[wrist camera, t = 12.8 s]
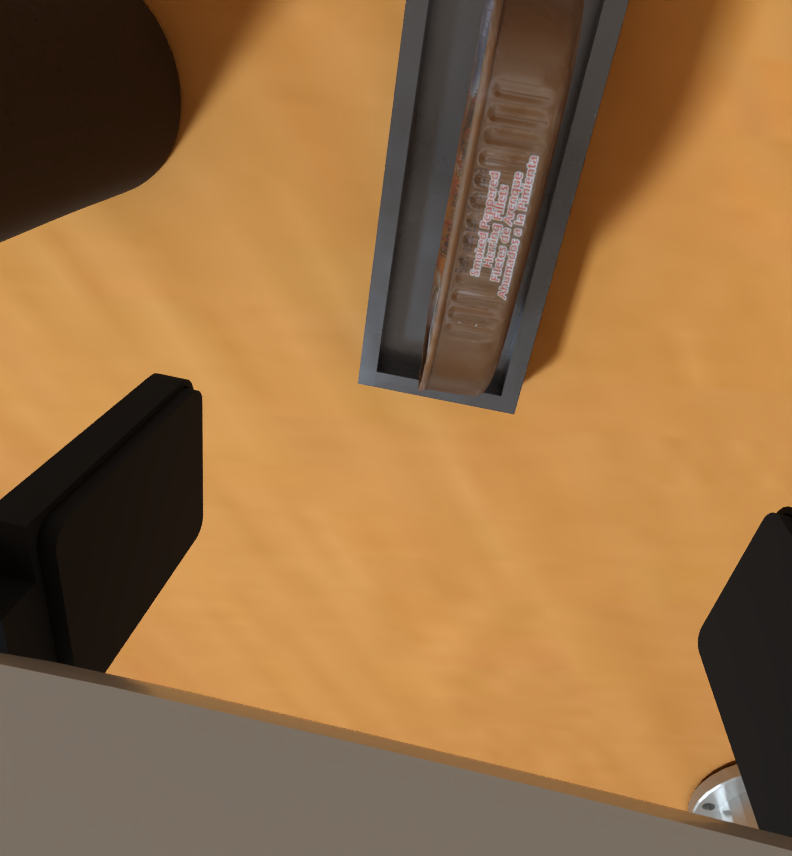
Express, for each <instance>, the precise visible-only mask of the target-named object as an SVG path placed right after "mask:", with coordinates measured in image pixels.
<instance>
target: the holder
mask: <svg viewBox="0 0 792 856" xmlns="http://www.w3.org/2000/svg"><path fill="white" fill-rule="evenodd" d="M485 2H486V0H406V5H405V13H404V21H403V29H402V37H401V45H400V53H399V61H398V69H397V77H396V85H395V93H394V101H393V109H392V117H391V125H390V133H389V141H388V149H387V157H386V165H385V173H384V181H383V189H382V197H381V205H380V213H379V221H378V229H377V237H376V245H375V253H374V261H373V268H372V276H371V284H370V292H369V300H368V308H367V316H366V324H365V332H364V340H363V348H362V356H361V364H360V372H359V380H358V384H363V385H368V386H373V387H379V388H384V389H389V390H394V391H399V392H404V393H409V394H414V395H419V396H424V397H429V398H434V399H439V400H444V401H449V402H455V403H460V404H465V405H470V406H475V407H480V408H485V409H490V410H495V411H500V412H505V413H510V414H514V413H515V409H516V406H517V402H518V398H519V395H520V391H521V387H522V384H523V380H524V377H525V373H526V369H527V366H528V362H529V359H530V355H531V351H532V348H533V344H534V341H535V337H536V333H537V330H538V326H539V323H540V319H541V315H542V312H543V308H544V305H545V301H546V297H547V294H548V290H549V287H550V283H551V279H552V276H553V272H554V268H555V265H556V261H557V258H558V254H559V250H560V247H561V243H562V240H563V236H564V232H565V229H566V225H567V222H568V218H569V214H570V211H571V207H572V204H573V200H574V196H575V193H576V189H577V186H578V182H579V178H580V175H581V171H582V168H583V164H584V160H585V157H586V153H587V149H588V146H589V142H590V139H591V135H592V131H593V128H594V124H595V121H596V117H597V113H598V110H599V106H600V103H601V99H602V95H603V92H604V88H605V85H606V81H607V77H608V74H609V70H610V67H611V63H612V59H613V56H614V52H615V49H616V45H617V41H618V38H619V34H620V30H621V27H622V23H623V20H624V16H625V12H626V9H627V5H628V2H629V0H585V2H584V10H583V18H582V26H581V33H580V39H579V44H578V49H577V55H576V60H575V65H574V70H573V74H572V79H571V84H570V88H569V93H568V98H567V102H566V106H565V110H564V114H563V118H562V122H561V126H560V130H559V134H558V138H557V142H556V147H555V151H554V155H553V159H552V163H551V167H550V171H549V174H548V179H547V183H546V187H545V191H544V196H543V199H542V203H541V207H540V211H539V215H538V219H537V223H536V227H535V230H534V234H533V238H532V242H531V246H530V250H529V254H528V258H527V262H526V265H525V268H524V273H523V277H522V281H521V284H520V288H519V291H518V295H517V299H516V303H515V307H514V310H513V314H512V318H511V322H510V326H509V329H508V333H507V336H506V340H505V343H504V347H503V350H502V353H501V356H500V359H499V362H498V365H497V368H496V371H495V373H494V376H493V378H492V380H491V382H490V384H489V386H488V387H487V389H486V390H485V391H484V392H483V393H482V394H480V395H478V396H468V395H459V394H453V393H447V392H441V391H435V390H423V391H419V390H418V382H419V374H420V367H421V361H422V352H423V344H424V336H425V330H426V322H427V316H428V310H429V303H430V297H431V292H432V287H433V281H434V274H435V268H436V262H437V257H438V251H439V246H440V240H441V234H442V229H443V224H444V218H445V213H446V208H447V203H448V197H449V192H450V186H451V181H452V176H453V170H454V165H455V160H456V154H457V149H458V143H459V138H460V132H461V126H462V121H463V116H464V111H465V105H466V100H467V95H468V89H469V84H470V79H471V74H472V69H473V65H474V58H475V52H476V46H477V41H478V36H479V30H480V25H481V20H482V15H483V10H484V6H485Z"/></svg>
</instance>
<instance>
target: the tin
mask: <svg viewBox="0 0 792 856" xmlns="http://www.w3.org/2000/svg"><path fill="white" fill-rule="evenodd" d="M584 2H585V0H486V2H485V6H484V10H483V15H482V20H481V25H480V30H479V36H478V41H477V46H476V52H475V58H474V65H473V69H472V74H471V79H470V84H469V89H468V95H467V100H466V105H465V111H464V116H463V121H462V126H461V132H460V138H459V143H458V149H457V154H456V160H455V165H454V170H453V176H452V181H451V186H450V192H449V197H448V203H447V208H446V213H445V218H444V224H443V229H442V234H441V240H440V246H439V251H438V257H437V262H436V268H435V274H434V281H433V287H432V292H431V297H430V303H429V310H428V316H427V322H426V330H425V336H424V344H423V352H422V361H421V367H420V374H419V382H418V390H419V391H423V390H435V391H441V392H447V393H453V394H459V395H468V396H478V395H480V394H482V393H483V392H484V391H485V390H486V389H487V387H488V386H489V384H490V382H491V380H492V378H493V376H494V373H495V371H496V368H497V365H498V362H499V359H500V356H501V353H502V350H503V347H504V343H505V340H506V336H507V333H508V329H509V326H510V322H511V318H512V314H513V310H514V307H515V303H516V299H517V295H518V291H519V288H520V284H521V281H522V277H523V273H524V268H525V265H526V262H527V258H528V254H529V250H530V246H531V242H532V238H533V234H534V230H535V227H536V223H537V219H538V215H539V211H540V207H541V203H542V199H543V196H544V191H545V187H546V183H547V179H548V174H549V171H550V167H551V163H552V159H553V155H554V151H555V147H556V142H557V138H558V134H559V130H560V126H561V122H562V118H563V114H564V110H565V106H566V102H567V98H568V93H569V88H570V84H571V79H572V74H573V70H574V65H575V60H576V55H577V49H578V44H579V39H580V33H581V26H582V18H583V10H584Z"/></svg>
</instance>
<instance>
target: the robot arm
mask: <svg viewBox="0 0 792 856" xmlns="http://www.w3.org/2000/svg"><path fill="white" fill-rule="evenodd" d="M202 521H203V435H202V395H201V393H200V391H197V390H193V386H192V383H191V382H190V381H189V380H187V379H182V378H177V377H172V376H168V375H163V374H158V373H154V374H153V375H151V376H150V377H148V378H147V379H146V380H145V381H144V382H142V383H141V384H140V385H139V386H137V387H136V388H135V389H134V390H133V391H131V392H130V393H129V394H128V395H127V396H125V397H124V398H123V399H122V400H120V401H119V402H118V403H117V404H116V405H114V406H113V407H112V408H111V409H110V410H108V411H107V412H106V413H105V414H104V415H102V416H101V417H100V418H99V419H97V420H96V421H95V422H94V423H93V424H91V425H90V426H89V427H88V428H87V429H85V430H84V431H83V432H82V433H81V434H79V435H78V436H77V437H76V438H74V439H73V440H72V441H71V442H70V443H68V444H67V445H66V446H65V447H64V448H62V449H61V450H60V451H59V452H58V453H56V454H55V455H54V456H53V457H51V458H50V459H49V460H48V461H47V462H45V463H44V464H43V465H42V466H41V467H39V468H38V469H37V470H36V471H35V472H33V473H32V474H31V475H30V476H28V477H27V478H26V479H25V480H24V481H22V482H21V483H20V484H19V485H18V486H16V487H15V488H14V489H13V490H11V491H10V492H9V493H8V494H7V495H5V496H4V497H3V498H2V499H1V500H0V856H792V507H783V508H782V509H780V510H779V511H778V512H777V513H769V514H768V515H767V516H766V517H765V518H764V519H763V521H762V523H761V524H760V526H759V528H758V530H757V531H756V533H755V535H754V537H753V538H752V540H751V542H750V544H749V545H748V547H747V549H746V551H745V552H744V554H743V556H742V558H741V559H740V561H739V563H738V565H737V566H736V568H735V570H734V572H733V573H732V575H731V577H730V578H729V580H728V582H727V584H726V585H725V587H724V589H723V591H722V592H721V594H720V596H719V598H718V599H717V601H716V603H715V605H714V606H713V608H712V610H711V612H710V613H709V615H708V617H707V619H706V620H705V622H704V624H703V626H702V628H701V630H700V633H699V637H698V649H699V653H700V656H701V659H702V662H703V665H704V668H705V671H706V674H707V677H708V680H709V683H710V686H711V689H712V692H713V695H714V698H715V701H716V703H717V706H718V709H719V712H720V715H721V718H722V721H723V724H724V727H725V730H726V733H727V736H728V739H729V742H730V745H731V748H732V751H733V754H734V757H735V760H736V763H737V764H735V765H732V766H730V767H727V768H724V769H722V770H720V771H718V772H717V773H715V774H713V775H711V776H710V777H708V778H707V779H706V780H705V781H703V782H702V783H701V784H700V785H699V786H698V787H697V789H696V790H695V791H694V792H693V794H692V796H691V798H690V801H689V803H688V812H687V811H683V810H679V809H675V808H671V807H667V806H663V805H659V804H655V803H651V802H647V801H643V800H638V799H634V798H630V797H626V796H622V795H618V794H614V793H610V792H606V791H602V790H598V789H594V788H590V787H586V786H582V785H577V784H573V783H569V782H565V781H561V780H557V779H553V778H549V777H544V776H540V775H536V774H532V773H528V772H524V771H520V770H516V769H511V768H507V767H503V766H499V765H495V764H491V763H487V762H483V761H478V760H474V759H470V758H466V757H462V756H458V755H453V754H449V753H445V752H441V751H437V750H433V749H429V748H424V747H420V746H416V745H412V744H408V743H404V742H399V741H395V740H391V739H387V738H383V737H379V736H374V735H370V734H366V733H362V732H358V731H354V730H349V729H345V728H341V727H337V726H332V725H328V724H324V723H320V722H315V721H311V720H307V719H303V718H298V717H294V716H290V715H286V714H281V713H277V712H273V711H269V710H264V709H260V708H256V707H252V706H247V705H243V704H239V703H235V702H230V701H226V700H222V699H218V698H214V697H209V696H205V695H201V694H197V693H192V692H188V691H184V690H180V689H175V688H171V687H166V686H162V685H157V684H153V683H148V682H143V681H139V680H134V679H130V678H125V677H120V676H116V675H111V674H107V673H105V672H106V671H107V669H108V668H109V666H110V665H111V663H112V662H113V660H114V659H115V657H116V656H117V654H118V653H119V651H120V650H121V648H122V647H123V646H124V644H125V643H126V641H127V640H128V638H129V637H130V635H131V634H132V632H133V631H134V629H135V628H136V626H137V625H138V623H139V622H140V620H141V619H142V618H143V616H144V615H145V613H146V612H147V610H148V609H149V607H150V606H151V604H152V603H153V601H154V600H155V598H156V597H157V595H158V594H159V593H160V591H161V590H162V588H163V587H164V585H165V584H166V582H167V581H168V579H169V578H170V576H171V575H172V573H173V572H174V570H175V569H176V567H177V566H178V565H179V563H180V562H181V560H182V559H183V557H184V556H185V554H186V553H187V551H188V550H189V548H190V547H191V545H192V544H193V542H194V541H195V540H196V538H197V536H198V534H199V532H200V529H201V526H202Z"/></svg>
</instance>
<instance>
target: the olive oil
mask: <svg viewBox="0 0 792 856" xmlns="http://www.w3.org/2000/svg"><path fill="white" fill-rule="evenodd" d="M179 119H180V87H179V80H178V75H177V70H176V66H175V62H174V59H173V56H172V53H171V50H170V47H169V45H168V42H167V40H166V38H165V35H164V33H163V31H162V29H161V27H160V26H159V24H158V22H157V20H156V19H155V17H154V15H153V14H152V12H151V11H150V9H149V8H148V7H147V5H146V4H145V3H144V1H143V0H0V242H2V241H5V240H7V239H9V238H12V237H14V236H17V235H19V234H21V233H24V232H26V231H29V230H31V229H33V228H36V227H38V226H40V225H43V224H45V223H48V222H50V221H52V220H55V219H57V218H60V217H62V216H64V215H67V214H69V213H72V212H74V211H77V210H80V209H82V208H85V207H87V206H90V205H93V204H95V203H98V202H101V201H103V200H106V199H109V198H111V197H114V196H117V195H119V194H122V193H124V192H127V191H129V190H132V189H134V188H136V187H138V186H139V185H141V184H143V183H144V182H146V181H147V180H148V179H149V178H151V177H152V176H153V175H154V174H155V173H156V172H157V171H158V170H159V169H160V167H161V166H162V165H163V163H164V162H165V160H166V159H167V157H168V155H169V153H170V151H171V149H172V147H173V144H174V141H175V138H176V135H177V131H178V126H179Z"/></svg>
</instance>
